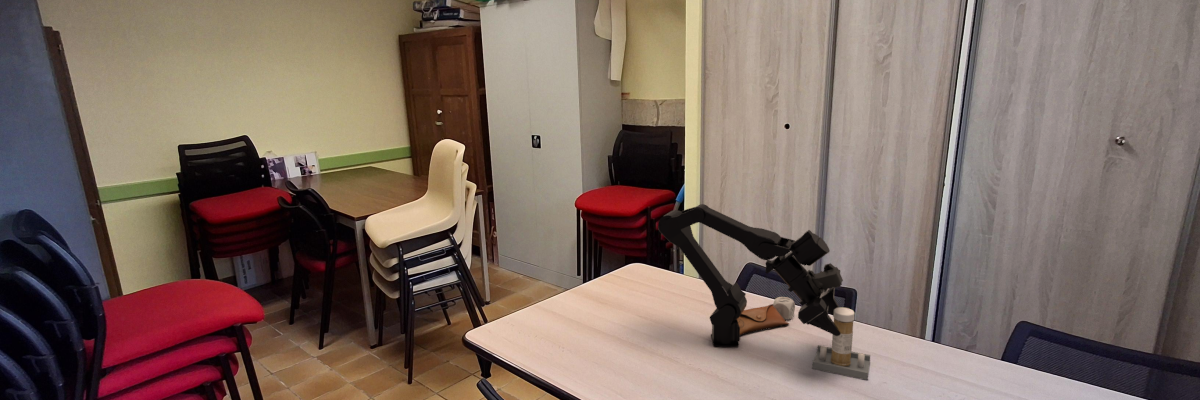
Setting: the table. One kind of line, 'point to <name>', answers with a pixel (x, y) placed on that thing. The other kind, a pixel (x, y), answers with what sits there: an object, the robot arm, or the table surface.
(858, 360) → the tray
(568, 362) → the table surface
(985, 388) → the table surface
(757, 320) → the sunglasses case
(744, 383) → the table surface
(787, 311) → the die
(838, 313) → the sprinkles bottle
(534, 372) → the table surface
